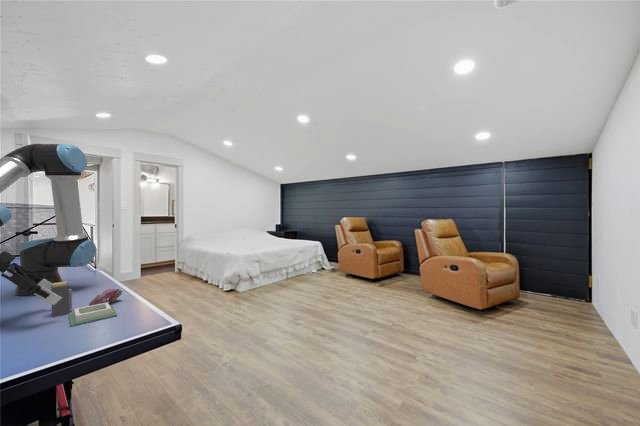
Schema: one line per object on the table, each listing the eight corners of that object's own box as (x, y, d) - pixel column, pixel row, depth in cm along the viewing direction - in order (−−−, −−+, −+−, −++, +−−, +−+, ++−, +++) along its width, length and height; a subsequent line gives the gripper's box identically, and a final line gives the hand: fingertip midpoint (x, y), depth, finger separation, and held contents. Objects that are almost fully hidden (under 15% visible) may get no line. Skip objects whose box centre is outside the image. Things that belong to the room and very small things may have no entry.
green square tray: (68, 315, 96) (68, 308, 96) (111, 307, 104) (111, 300, 104) (70, 326, 87) (70, 318, 87) (117, 316, 96) (117, 308, 95)
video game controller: (95, 312, 103) (102, 296, 102) (86, 306, 103) (93, 290, 103) (119, 303, 112) (126, 288, 112) (111, 297, 113) (117, 283, 112)
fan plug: (52, 313, 98) (51, 283, 98) (71, 309, 102) (71, 280, 101) (52, 317, 95) (51, 285, 95) (72, 312, 99) (71, 282, 98)
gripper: (-15, 262, 94) (48, 297, 104) (-32, 276, 76) (46, 316, 86) (8, 245, 97) (67, 280, 108) (-3, 254, 79) (69, 295, 90)
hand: (58, 296), depth 97 cm, fingers open, 13 cm apart
